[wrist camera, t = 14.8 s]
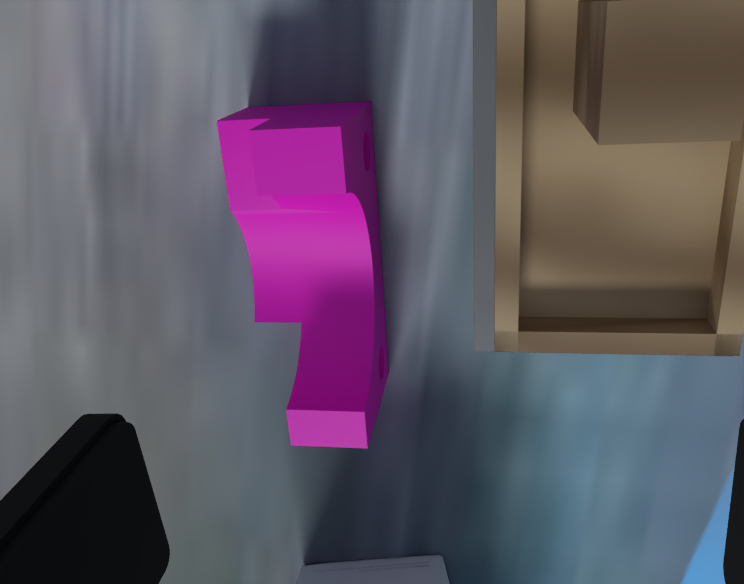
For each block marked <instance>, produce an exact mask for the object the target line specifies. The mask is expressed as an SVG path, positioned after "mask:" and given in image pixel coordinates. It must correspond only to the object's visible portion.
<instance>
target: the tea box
mask: <svg viewBox="0 0 744 584" xmlns="http://www.w3.org/2000/svg"><path fill="white" fill-rule="evenodd" d="M296 584H450V582H449V579H448V576H447V572H446V568H445V564H444V560H443V557H442V556H441V555H427V556H411V557H397V558H384V559H371V560H358V561H345V562H332V563H322V564H312V565H306V566H302V568H301V571H300V574H299V577H298V580H297V582H296Z"/></svg>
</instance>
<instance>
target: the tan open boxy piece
mask: <svg viewBox="0 0 744 584" xmlns="http://www.w3.org/2000/svg"><path fill="white" fill-rule="evenodd" d="M743 331H744V0H496V94H495V251H494V352H542V353H597V354H652V355H708V356H740V350H741V343H742V337H743Z"/></svg>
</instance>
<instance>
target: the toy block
mask: <svg viewBox="0 0 744 584" xmlns="http://www.w3.org/2000/svg"><path fill="white" fill-rule="evenodd" d="M217 126H218V133H219V139H220V146H221V152H222V159H223V165H224V172H225V179H226V185H227V192H228V198H229V205H230V210H231V212H232V213H233V215H234V216H235V218H236V220H237V222H238V224H239V226H240V228H241V230H242V233H243V236H244V239H245V242H246V245H247V249H248V253H249V257H250V263H251V268H252V275H253V284H254V297H255V322H299V323H302V325H301V342H300V352H299V360H298V367H297V373H296V378H295V382H294V386H293V390H292V394H291V397H290V401H289V403H288V406H287V409H286V411H287V419H288V426H289V434H290V441H291V445H294V446H318V447H343V448H367V449H368V445H369V442H370V438H371V434H372V431H373V427H374V424H375V420H376V416H377V413H378V409H379V406H380V402H381V398H382V395H383V391H384V388H385V384H386V380H387V377H388V373H389V368H388V353H387V337H386V322H385V307H384V292H383V277H382V261H381V246H380V231H379V216H378V201H377V186H376V170H375V155H374V140H373V125H372V110H371V101H365V102H344V103H324V104H304V105H283V106H263V107H248V108H245V109H243V110H241V111H238V112H236V113H234V114H232V115H229V116H227V117H225V118H222V119H220V120H218V121H217Z"/></svg>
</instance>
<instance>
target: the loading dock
mask: <svg viewBox="0 0 744 584" xmlns="http://www.w3.org/2000/svg"><path fill="white" fill-rule="evenodd" d="M495 94H496V0H473V127H474V331H475V352H494V251H495ZM528 353H542V352H528ZM581 354H597V353H581ZM634 355H652V354H634ZM686 356H708V355H686Z"/></svg>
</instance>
